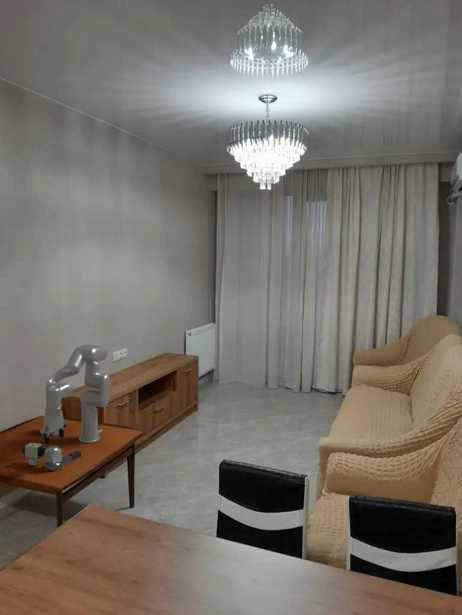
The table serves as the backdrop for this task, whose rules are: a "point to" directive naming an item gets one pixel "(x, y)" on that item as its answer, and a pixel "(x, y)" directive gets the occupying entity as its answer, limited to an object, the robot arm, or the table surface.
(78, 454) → the ratchet
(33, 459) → the pneumatic valve
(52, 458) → the domed grey cube
